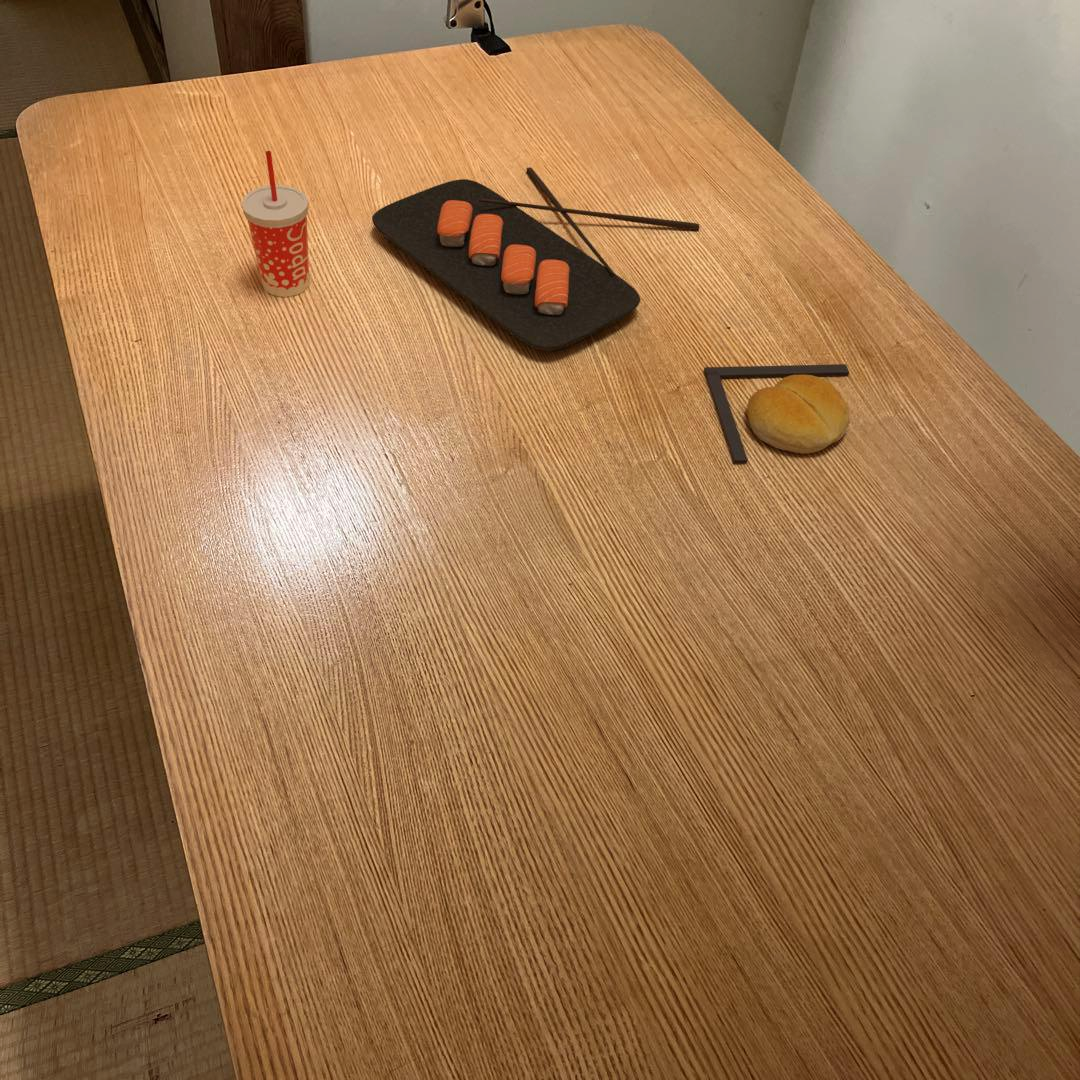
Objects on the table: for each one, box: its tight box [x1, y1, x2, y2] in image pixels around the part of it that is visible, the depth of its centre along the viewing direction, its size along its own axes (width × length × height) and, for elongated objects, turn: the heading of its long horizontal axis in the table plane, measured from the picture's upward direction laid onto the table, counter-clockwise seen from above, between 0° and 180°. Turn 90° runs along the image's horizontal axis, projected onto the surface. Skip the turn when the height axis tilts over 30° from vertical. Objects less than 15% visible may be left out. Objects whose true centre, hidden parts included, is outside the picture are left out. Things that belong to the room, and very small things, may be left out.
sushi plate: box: [371, 167, 700, 351], centre depth 113 cm, size 29×30×4 cm
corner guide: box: [703, 363, 850, 465], centre depth 99 cm, size 14×13×1 cm
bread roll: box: [746, 375, 851, 455], centre depth 96 cm, size 8×9×4 cm
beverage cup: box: [241, 150, 310, 298], centre depth 102 cm, size 6×6×14 cm
